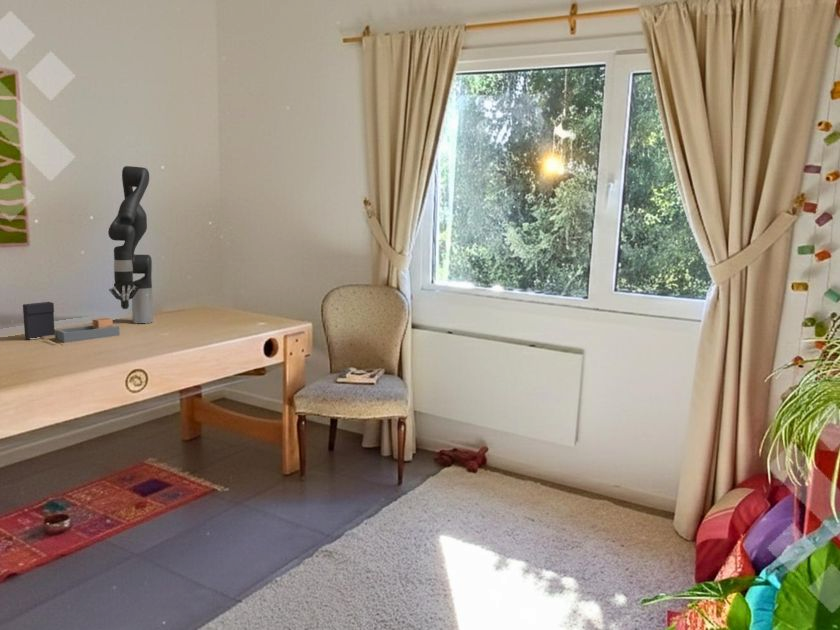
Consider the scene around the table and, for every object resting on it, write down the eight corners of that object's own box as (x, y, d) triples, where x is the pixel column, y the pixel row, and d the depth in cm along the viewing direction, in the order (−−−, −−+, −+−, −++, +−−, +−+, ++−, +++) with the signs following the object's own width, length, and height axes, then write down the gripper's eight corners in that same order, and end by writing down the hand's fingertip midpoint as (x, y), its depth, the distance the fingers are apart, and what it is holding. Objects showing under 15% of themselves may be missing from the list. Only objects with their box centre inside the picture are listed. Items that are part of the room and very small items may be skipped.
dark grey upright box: (50, 335, 287) (48, 301, 284) (55, 336, 284) (53, 302, 282) (24, 339, 278) (21, 304, 275) (28, 340, 275) (26, 305, 273)
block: (93, 334, 286) (92, 319, 285) (106, 333, 291) (106, 317, 289) (99, 337, 282) (98, 321, 281) (113, 335, 287) (112, 319, 286)
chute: (51, 340, 276) (50, 329, 275) (112, 332, 296) (112, 322, 295) (63, 345, 268) (62, 334, 268) (125, 337, 288) (125, 326, 287)
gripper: (133, 268, 297) (135, 306, 299) (104, 270, 287) (106, 309, 289) (142, 270, 292) (143, 308, 295) (112, 271, 282) (114, 311, 285)
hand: (125, 308), depth 292 cm, fingers closed
